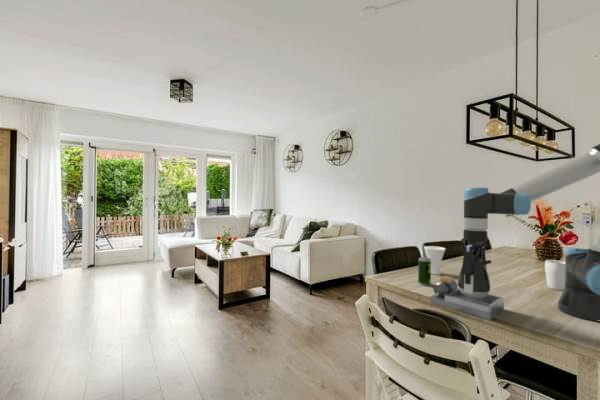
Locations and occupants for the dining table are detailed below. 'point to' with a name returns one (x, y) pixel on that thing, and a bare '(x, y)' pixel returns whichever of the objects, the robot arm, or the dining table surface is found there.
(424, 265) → the green soda can
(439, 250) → the cup
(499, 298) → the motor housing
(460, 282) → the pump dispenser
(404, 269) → the dining table surface
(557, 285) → the cup
